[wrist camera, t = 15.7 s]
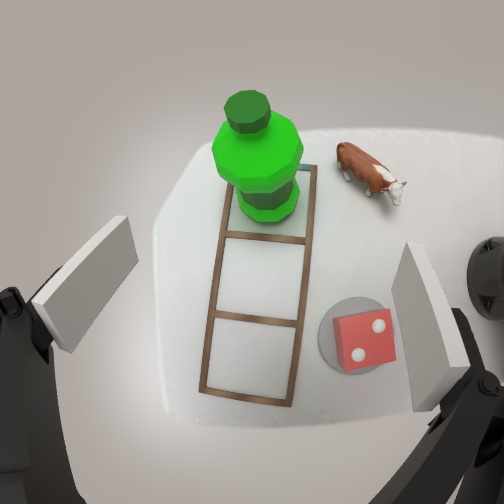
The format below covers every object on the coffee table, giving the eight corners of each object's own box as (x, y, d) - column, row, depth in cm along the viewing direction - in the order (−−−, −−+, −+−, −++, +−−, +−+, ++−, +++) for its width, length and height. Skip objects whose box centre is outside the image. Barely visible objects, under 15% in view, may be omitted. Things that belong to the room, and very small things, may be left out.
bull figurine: (385, 220, 46) (400, 204, 38) (328, 167, 49) (333, 142, 41) (400, 204, 46) (416, 185, 38) (344, 152, 49) (350, 127, 41)
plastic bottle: (263, 163, 51) (237, 58, 27) (312, 195, 49) (324, 97, 24) (227, 206, 50) (171, 121, 26) (276, 242, 48) (258, 172, 24)
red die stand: (385, 291, 44) (404, 286, 35) (394, 363, 41) (414, 373, 33) (313, 304, 45) (317, 303, 37) (322, 378, 43) (328, 393, 34)
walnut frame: (317, 166, 49) (317, 165, 49) (290, 406, 42) (290, 407, 42) (232, 161, 52) (231, 159, 51) (199, 391, 45) (198, 392, 44)
